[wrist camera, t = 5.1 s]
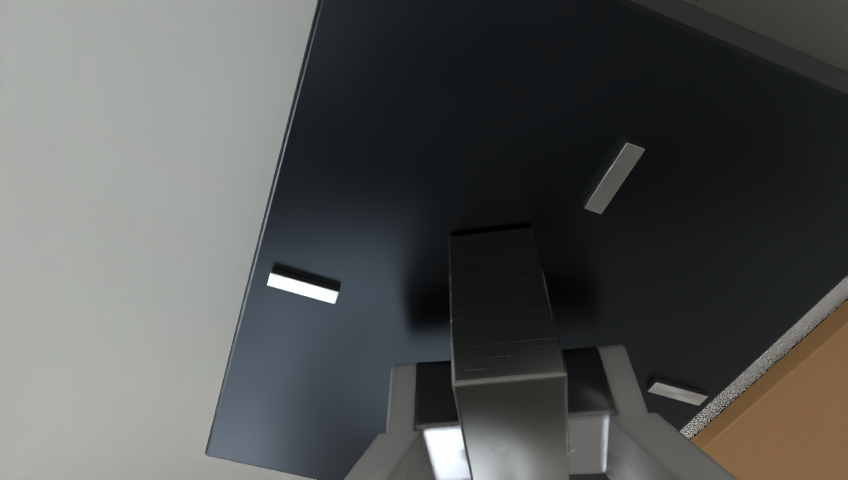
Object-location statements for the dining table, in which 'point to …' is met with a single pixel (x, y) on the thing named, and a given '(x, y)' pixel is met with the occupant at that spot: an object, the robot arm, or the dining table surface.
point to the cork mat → (790, 414)
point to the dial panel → (531, 204)
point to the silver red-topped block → (507, 358)
